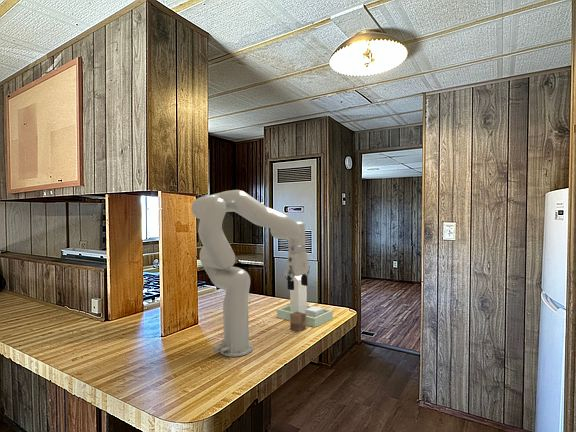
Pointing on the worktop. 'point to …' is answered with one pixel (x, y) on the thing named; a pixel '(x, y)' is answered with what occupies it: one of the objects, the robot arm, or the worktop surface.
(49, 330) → the worktop surface
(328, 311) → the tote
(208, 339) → the worktop surface
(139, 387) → the worktop surface
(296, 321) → the walnut block
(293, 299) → the milk
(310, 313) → the white block
